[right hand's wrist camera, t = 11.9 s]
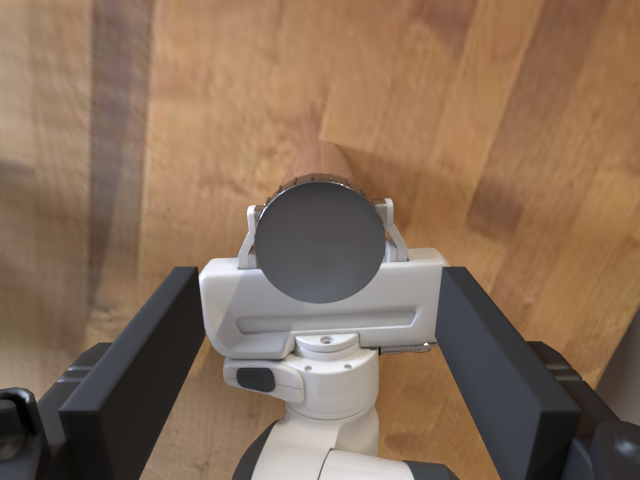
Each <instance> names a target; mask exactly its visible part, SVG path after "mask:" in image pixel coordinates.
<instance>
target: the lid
mask: <svg viewBox="0 0 640 480" xmlns="http://www.w3.org/2000/svg"><path fill="white" fill-rule="evenodd" d="M376 208H377V207H376V205H375V202H374V200H373V199H372V200H371V199H370V198H369V196H368V195H367V194H366V193H365V192H364V190H363V188H362V187H359V186H357V185H356V184H354V183H353V182H351V181H349V179H348V178H347V177H346V179H345V178H343V177H340V176H337V175H332V173H330V172H329V174H324V173H315V174H314V172H311V174H308V175H303V176H300V177H297V176H295V177H294V179H293V180H291V181H289V182H287V183H286V184H284V185H280V186H279V188H278V190H277V191H276V192H275V193H274V194H273V195H272V196H271V198H270V197H268V199H267V201H266V203H265V208H264V210H263V212H262V211H261V213H260V215H259V217H258V219H257V221H258V224H257V227H256V231H255V235H254V247H255V254H256V258H257V261H258V264H259V266H260V268H261V270H262V272H263V274H264V275H265V277H266V278H267V279H268V280H269V282H270V283H271V284H272V285H273V286H274V287H275V288H277V289H278V290H279V291H281V292H282V293H284V294H285V295H287V296H289V297H291V298H293V299H296V300H299V301H302V302H307V303H314V304H327V303H333V302H338V301H341V300H344V299H346V298H349V297H351V296H353V295H355V294H356V293H358V292H359V291H361V290H362V289H363V288H365V287H366V286H367V285H368V284H369V283H370V282H371V280H372V279H373V278H374V277H375V275H376V274H377V272H378V270H379V268H380V266H381V264H382V261H383V258H384V254H385V247H386V238H385V230H384V227H383V224H384V222H383V220H382V218H381V216H380V214H378V212H377V210H376Z"/></svg>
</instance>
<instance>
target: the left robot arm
mask: <svg viewBox="0 0 640 480" xmlns="http://www.w3.org/2000/svg"><path fill="white" fill-rule="evenodd" d="M373 200H374V202H375V205H376V207H377V208H376V210H377V212H378V214H380V216H381V218H382V220H383V222H384V224H383V226H385V228H386V230H387V231H388V233H389V235H390V236H391V238H392V239H393V240H392V239H391V238H390V239H386V247H385V254H384V258H383V261H382V264H381V266H380V268H379V270H378V272H377V274H376V275H375V277H374V278H373V279H372V280H371V282H370V283H369V284H368V285H367V286H366V287H365V288H363V289H362V290H361V291H359V292H358V293H356V294H355V295H353V296H351V297H349V298H346V299H344V300H341V301H338V302H333V303H327V304H314V303H307V302H302V301H299V300H296V299H293V298H291V297H289V296H287V295H285V294H284V293H282V292H281V291H279V290H278V289H277V288H275V287H274V286H273V285H272V284H271V283H270V282H269V280H268V279H267V278H266V277H265V275H264V274H263V272H262V270H261V268H260V266H259V264H258V261H257V258H256V254H255V247H254V245H253V243H254V235H255V231H256V227H257V224H258V221H257V219H258V217H259V215H260V213H261V211H262V212H263V210H264V208H265V205H252V206H249V208H248V212H247V216H248V225H249V232H248V234H247V236H246V239H245V241H244V243H243V245H242V247H241V249H240V251H239V253H238V257H236V258H216V259H212V260H211V261H210V262H209V263H208V264H207V265H206V266H205V268H204V269H203V270H202V272H201V273H200V275H199V283H200V292H201V301H202V310H203V318H204V327H205V330H206V333H207V335H208V338H209V340H210V342H211V344H212V346H213V347H214V349H215V350H216V351H217V352H218V353H220V354H221V355H223V356H225V359H224V365H223V378H224V381H225V382H226V384H228V385H229V386H232V387H235V388H240V389H245V390H249V391H254V392H258V393H262V394H266V395H269V396H273V397H276V398H279V399H281V400H284V402H285V413H284V416H283V418H282V419H281V420H276V421H275V422H273V423H272V424H271V425H270V426H269V427H268V428H267V429H266V430H265V431H264V432H263V433H262V434H261V435H260V436H259V437H258V438H257V439H256V440H255V441H254V442H253V443H252V444H251V445H250V447H249V448H248V449H247V450H246V452H245V453H244V455H243V456H242V458H241V460H240V462H239V464H238V466H237V468H236V470H235V472H234V475H233V477H232V480H460V479H459V478H458V477H457V476H456V475H455V474H454V473H453V472H452V471H451V470H450V469H449V468H448V467H447V466H446V465H444V464H437V463H426V462H416V461H406V460H403V461H402V462H400V461H395V460H390V459H385V458H379V457H378V445H379V419H378V415H377V411H376V409H375V403H376V400H377V397H378V391H379V356H380V355H384V354H400V353H406V352H415V353H424V352H429V351H430V350H431V348H432V347H435V346H437V345H439V344H438V342H437V340H436V338H435V327H436V318H437V310H438V301H439V292H440V283H441V275H442V267H451V266H450V264H449V262H448V261H447V260H446V259H445V257H444V256H443V255H442V254H441V253H440V252H439V251H438V250H436V249H435V248H415V249H408V247H407V245H406V243H405V241H404V239H403V238H402V236H401V234H400V233H399V231H398V229H397V228H396V226H395V225H394V223H393V202H392V200H391V199H390V198H387V199H373ZM252 245H253V246H252ZM430 342H432V343H430Z"/></svg>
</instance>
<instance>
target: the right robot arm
mask: <svg viewBox="0 0 640 480" xmlns="http://www.w3.org/2000/svg"><path fill="white" fill-rule="evenodd" d="M204 338H205V327H204V318H203V310H202V301H201V292H200V283H199V275H198V267H175V268H174V269H173V270H172V271H171V272H170V274H169V275H168V276H167V277H166V279H165V280H164V281H163V282H162V284H161V285H160V286H159V287H158V288H157V290H156V291H155V292H154V293H153V295H152V296H151V297H150V298H149V299H148V301H147V302H146V303H145V304H144V306H143V307H142V308H141V309H140V311H139V312H138V313H137V314H136V315H135V317H134V318H133V319H132V320H131V322H130V323H129V324H128V325H127V326H126V328H125V329H124V330H123V331H122V333H121V334H120V335H119V336H118V337H117V339H116V340H115V341H114V342H113V343H98V344H96V345H95V346H93V347H92V348H90V349H88V350H87V351H85V352H84V353H82V354H81V355H80V356H79V357H78V358H77V359H76V360H75V361H74V363H73V364H72V365H71V366H70V367H69V370H68V371H65V372H64V374H63V375H62V376H61V377H60V378H59V379H58V382H55V384H54V385H53V386H52V387H51V388H50V389H49V390H48V391H47V392H46V394H45V395H44V396H43V397H42V398H41V399H40V400H39V401H38V402H37V404H36V400H35V397H34V394H33V393H32V392H30V391H29V390H28V389H24V388H16V387H14V388H7V389H0V480H139V478H140V476H141V474H142V472H143V469H144V467H145V465H146V463H147V461H148V459H149V456H150V454H151V452H152V450H153V448H154V446H155V444H156V441H157V439H158V437H159V435H160V433H161V431H162V428H163V426H164V424H165V422H166V420H167V418H168V416H169V413H170V411H171V409H172V407H173V405H174V403H175V400H176V398H177V396H178V394H179V392H180V390H181V388H182V385H183V383H184V381H185V379H186V377H187V375H188V372H189V370H190V368H191V366H192V364H193V362H194V360H195V357H196V355H197V353H198V351H199V349H200V347H201V344H202V342H203V340H204ZM435 338H436V340H437V342H438V344H439V347H440V349H441V351H442V353H443V355H444V357H445V360H446V362H447V364H448V366H449V368H450V370H451V372H452V375H453V377H454V379H455V381H456V383H457V385H458V388H459V390H460V392H461V394H462V396H463V398H464V400H465V403H466V405H467V407H468V409H469V411H470V413H471V416H472V418H473V420H474V422H475V424H476V426H477V428H478V431H479V433H480V435H481V437H482V439H483V441H484V444H485V446H486V448H487V450H488V452H489V454H490V456H491V459H492V461H493V463H494V465H495V467H496V469H497V472H498V474H499V476H500V478H501V480H640V426H638V425H635V424H632V423H630V422H624V421H621V420H620V419H619V418H618V417H617V416H616V415H615V414H614V413H613V412H612V410H611V409H610V408H609V407H608V406H607V405H606V404H605V403H604V402H603V400H602V399H601V398H600V397H599V396H598V395H597V394H596V393H595V392H594V391H593V389H592V388H591V387H590V386H589V385H588V384H587V383H586V382H585V381H582V377H581V376H580V375H579V374H578V373H577V372H576V371H575V370H574V369H572V366H571V365H570V364H569V363H568V362H567V361H566V360H565V359H564V357H563V356H562V355H561V354H560V353H559V352H557V351H556V350H554V349H552V348H551V347H549V346H548V345H546V344H545V343H543V342H541V341H525V340H524V339H523V337H522V336H521V335H520V334H519V333H518V331H517V330H516V329H515V328H514V326H513V325H512V324H511V323H510V322H509V320H508V319H507V318H506V317H505V315H504V314H503V313H502V312H501V311H500V309H499V308H498V307H497V306H496V304H495V303H494V302H493V301H492V299H491V298H490V297H489V296H488V295H487V293H486V292H485V291H484V290H483V288H482V287H481V286H480V285H479V284H478V282H477V281H476V280H475V279H474V277H473V276H472V275H471V274H470V272H469V271H468V270H467V269H466V268H465V267H442V275H441V283H440V292H439V301H438V310H437V318H436V327H435Z"/></svg>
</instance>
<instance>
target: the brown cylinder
mask: <svg viewBox="0 0 640 480" xmlns="http://www.w3.org/2000/svg"><path fill="white" fill-rule="evenodd" d="M311 172H314V174H315V173H324V174H329V172H330V173H332V175H337V176H340V177H343V178H345V179H346V177H347V178H348V179H349V181H351V182H353V183H354V184H356V185H357V186H358V184H357V181H356V179H355V176H354V173H353V171H352V168H351V166H350V163H349V161H348V159H347V156H346V155H345V153H344V152H343V151H342V150H341V149H340V148H339V147H338V146H336V145H335V144H333V143H330V142H327V141H312V142H309V143H307V144H305V145H304V146H302V147H301V148H300V149H299V150H298V151H297V152H296V153H295V155H294V156H293V159H292V161H291V163H290V166H289V168H288V171H287V173H286V176H285V178H284V181H283V184H282V185H284V184H286V183H287V182H289V181H291V180H293V179H294V177H295V176H297V177H300V176H303V175H308V174H311Z"/></svg>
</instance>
